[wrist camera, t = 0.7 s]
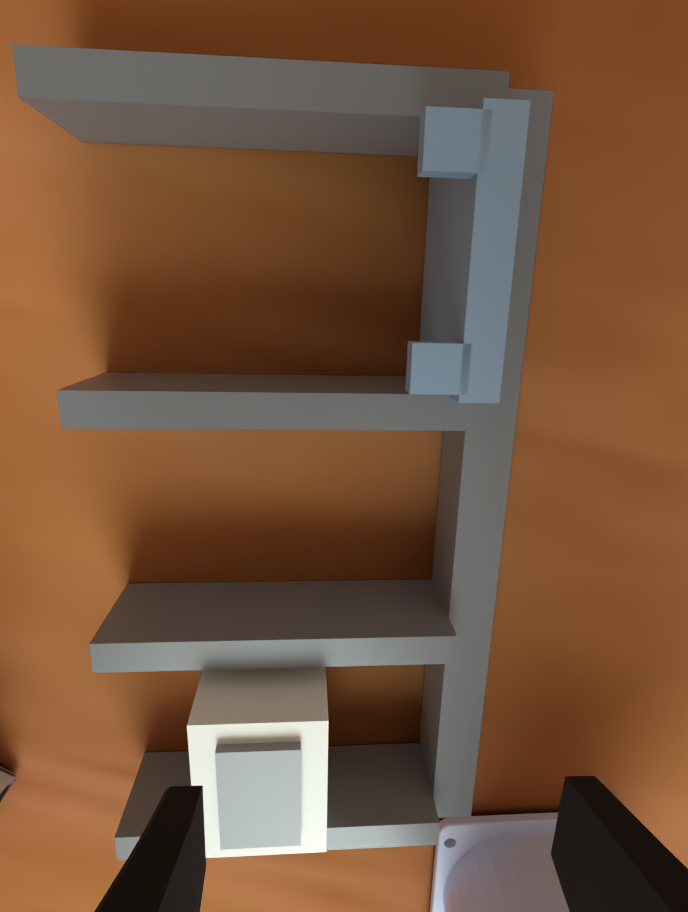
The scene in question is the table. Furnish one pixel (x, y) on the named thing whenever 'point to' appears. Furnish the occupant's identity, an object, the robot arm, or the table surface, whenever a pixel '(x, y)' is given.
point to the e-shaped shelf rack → (340, 400)
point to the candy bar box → (5, 781)
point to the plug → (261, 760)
